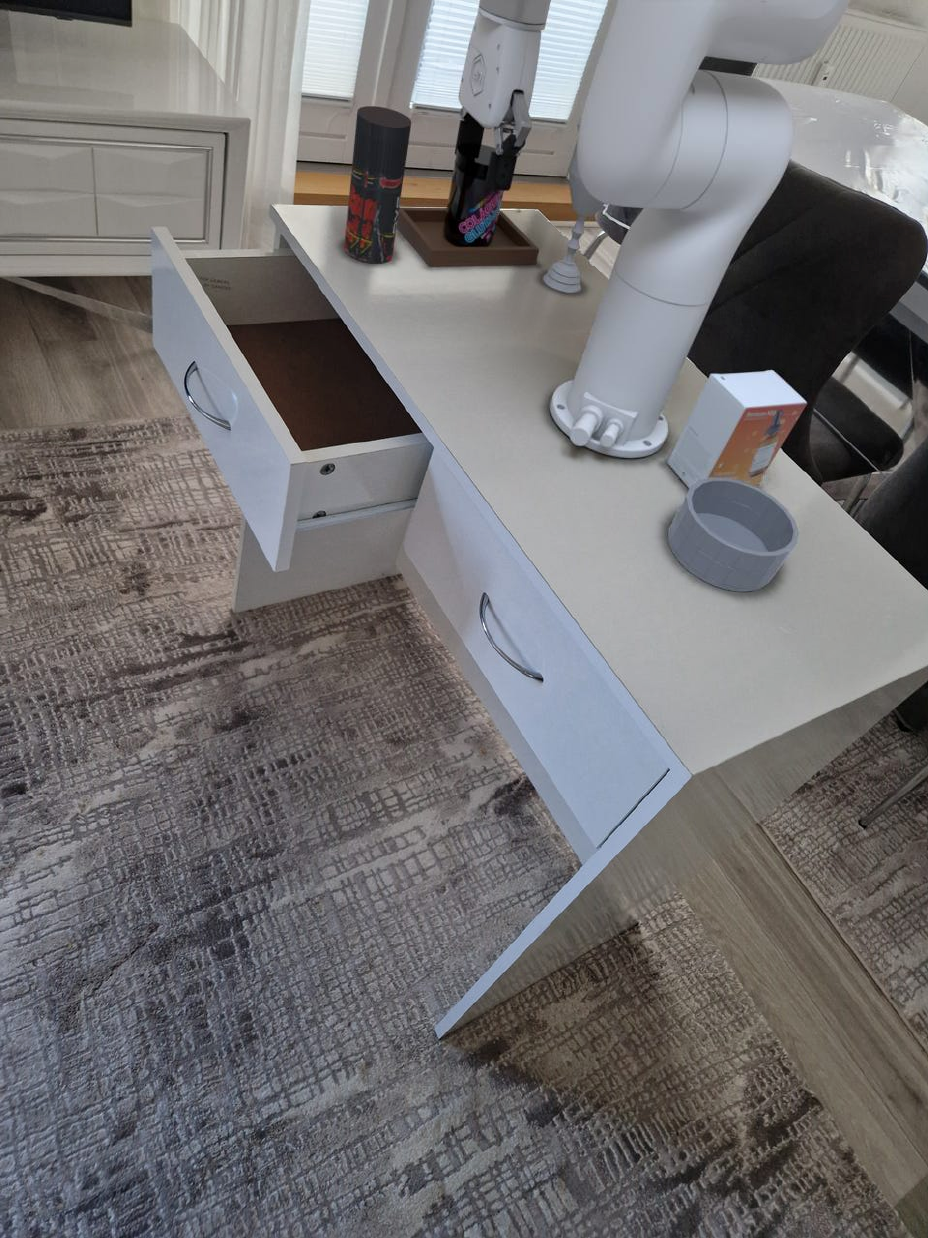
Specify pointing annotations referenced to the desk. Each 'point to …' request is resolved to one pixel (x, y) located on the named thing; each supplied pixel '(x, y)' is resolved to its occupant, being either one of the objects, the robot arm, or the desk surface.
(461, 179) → the supplement container
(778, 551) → the gray bowl
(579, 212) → the chalice
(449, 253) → the walnut tray
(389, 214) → the deodorant
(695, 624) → the desk surface
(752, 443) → the small box
